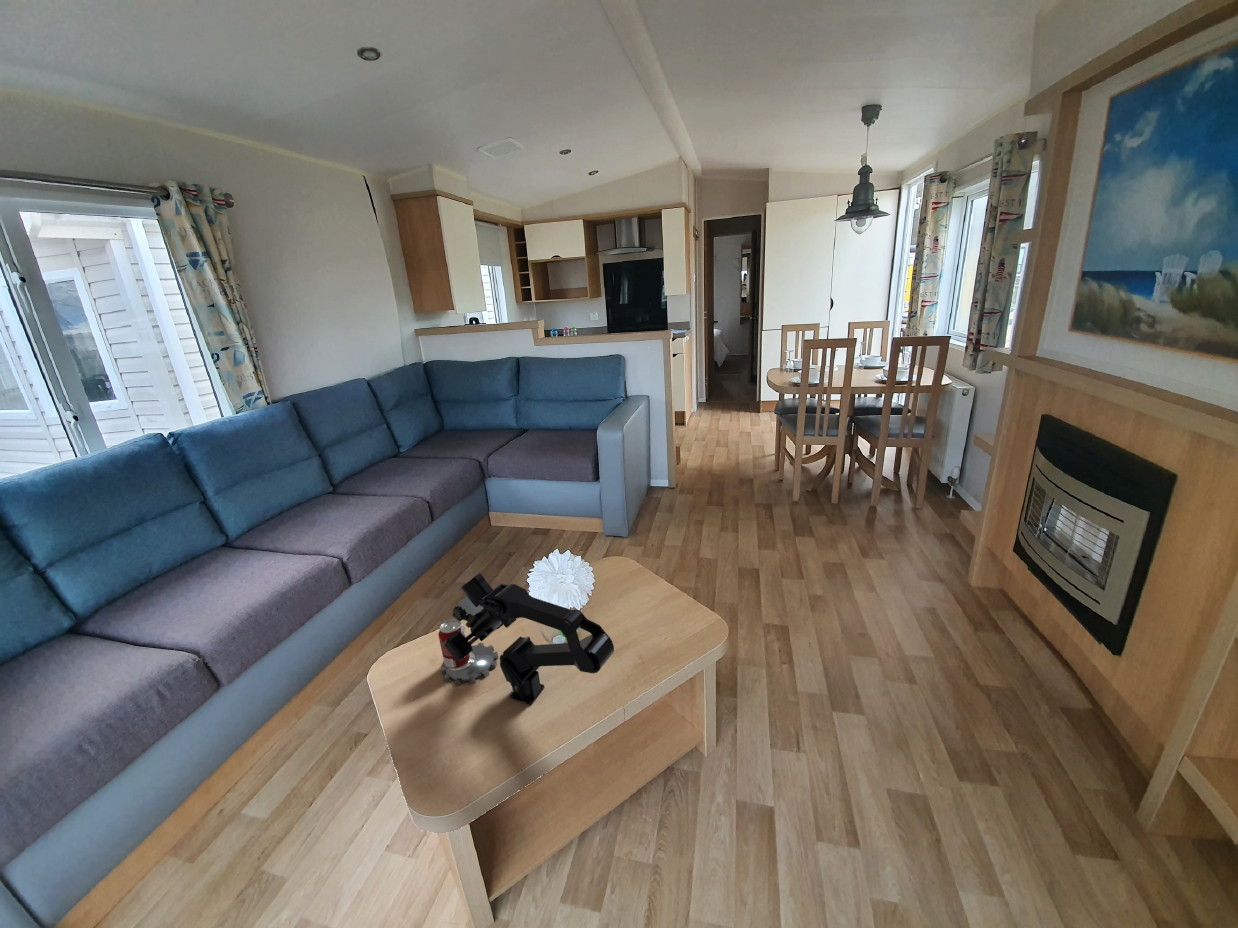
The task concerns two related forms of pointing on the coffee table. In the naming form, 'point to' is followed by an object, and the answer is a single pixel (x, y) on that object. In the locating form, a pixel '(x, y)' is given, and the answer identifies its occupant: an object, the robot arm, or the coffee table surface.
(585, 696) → the coffee table surface
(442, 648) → the soda can
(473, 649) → the sprocket
